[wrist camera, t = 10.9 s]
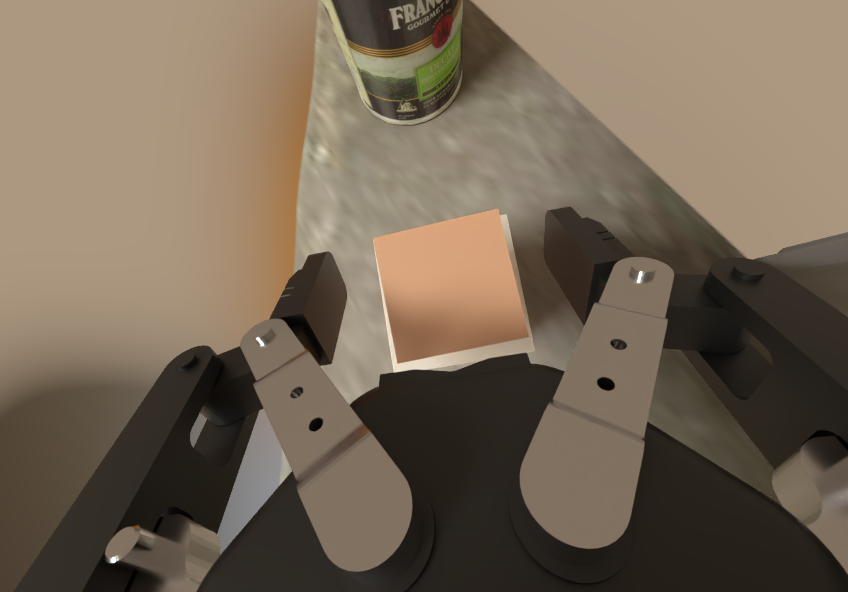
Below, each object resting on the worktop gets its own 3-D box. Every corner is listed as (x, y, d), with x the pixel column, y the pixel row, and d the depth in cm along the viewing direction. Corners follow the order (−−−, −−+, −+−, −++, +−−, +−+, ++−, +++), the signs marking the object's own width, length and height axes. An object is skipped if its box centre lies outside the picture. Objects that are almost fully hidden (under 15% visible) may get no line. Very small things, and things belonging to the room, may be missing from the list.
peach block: (405, 272, 19) (373, 238, 12) (481, 255, 19) (498, 208, 11) (421, 348, 18) (397, 363, 11) (499, 332, 18) (529, 336, 11)
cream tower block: (390, 258, 24) (373, 240, 19) (496, 238, 24) (506, 214, 19) (407, 365, 23) (394, 374, 18) (518, 346, 23) (535, 351, 18)
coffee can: (486, 68, 30) (510, -154, 16) (409, 147, 30) (368, -8, 16) (409, 7, 32) (370, -245, 18) (336, 82, 32) (240, -111, 18)
